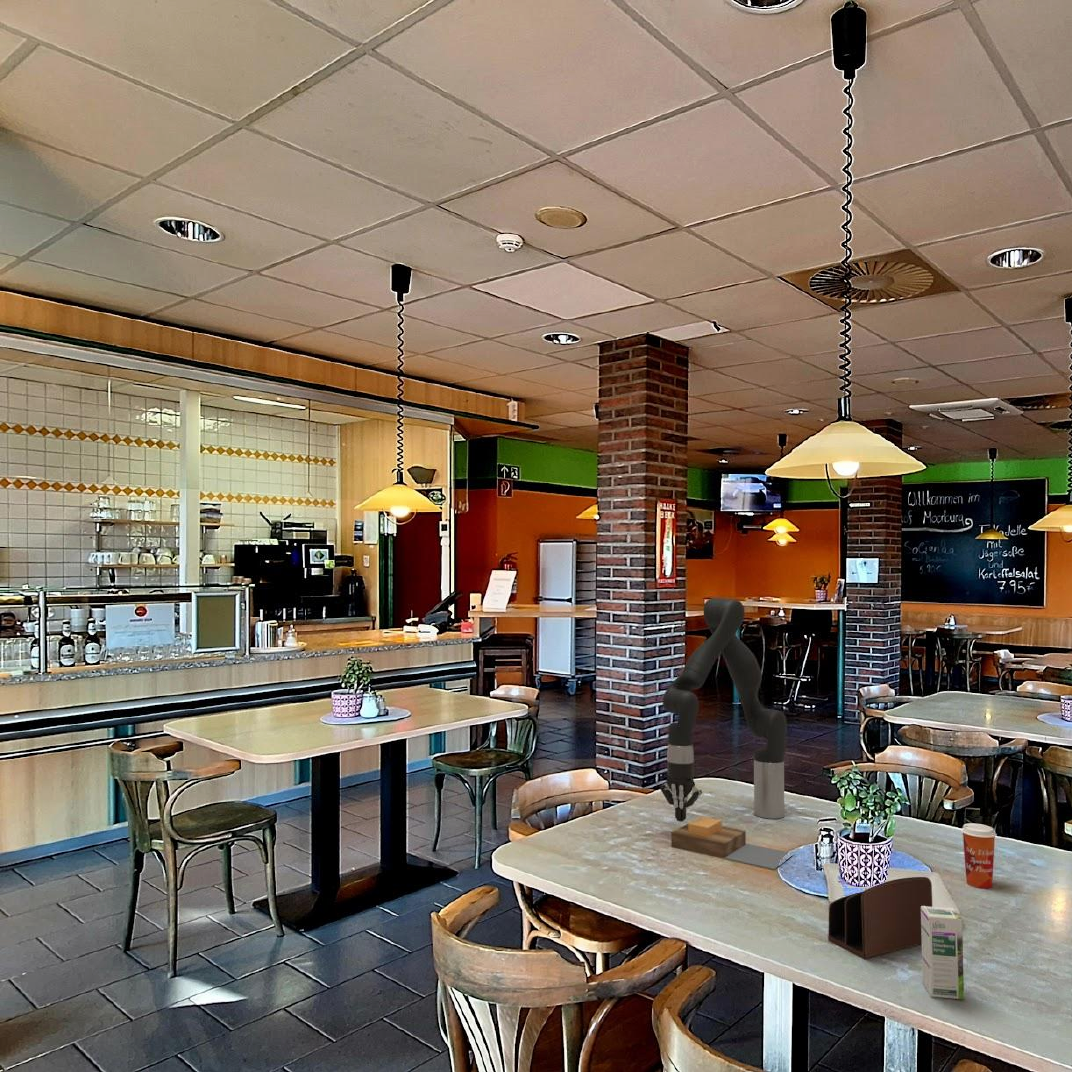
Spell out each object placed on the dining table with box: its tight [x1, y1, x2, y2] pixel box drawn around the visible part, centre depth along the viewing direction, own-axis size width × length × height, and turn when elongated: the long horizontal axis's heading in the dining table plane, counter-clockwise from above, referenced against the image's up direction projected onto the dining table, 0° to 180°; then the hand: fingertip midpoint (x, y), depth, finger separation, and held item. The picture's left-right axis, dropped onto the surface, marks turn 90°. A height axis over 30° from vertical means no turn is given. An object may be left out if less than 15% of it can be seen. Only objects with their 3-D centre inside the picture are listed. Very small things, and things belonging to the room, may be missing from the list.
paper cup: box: [961, 822, 998, 890], centre depth 210 cm, size 8×8×14 cm
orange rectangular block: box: [687, 816, 723, 837], centre depth 238 cm, size 9×6×2 cm, turn 143°
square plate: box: [822, 862, 961, 916], centre depth 200 cm, size 27×27×4 cm
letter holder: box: [827, 877, 932, 960], centre depth 177 cm, size 10×20×14 cm, turn 116°
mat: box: [723, 843, 790, 871], centre depth 228 cm, size 15×14×1 cm
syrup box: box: [921, 906, 965, 1001], centre depth 156 cm, size 6×6×14 cm
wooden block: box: [670, 820, 747, 859], centre depth 237 cm, size 14×16×4 cm
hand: (680, 820), depth 243 cm, fingers closed
